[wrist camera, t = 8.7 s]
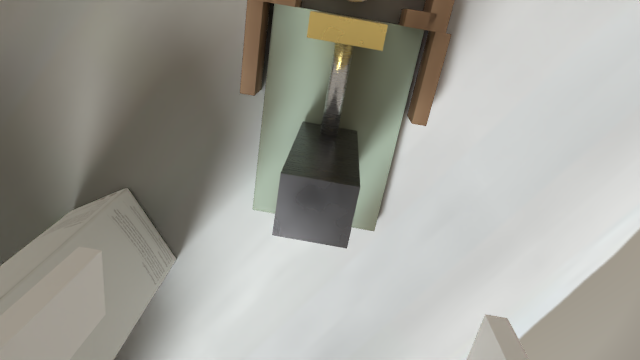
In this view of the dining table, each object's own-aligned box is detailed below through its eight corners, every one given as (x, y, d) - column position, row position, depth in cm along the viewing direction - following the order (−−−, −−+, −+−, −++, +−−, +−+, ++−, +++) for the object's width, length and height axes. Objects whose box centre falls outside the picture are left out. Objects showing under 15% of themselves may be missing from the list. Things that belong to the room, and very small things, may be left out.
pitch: (238, 200, 33) (227, 216, 31) (264, -100, 25) (253, -113, 22) (390, 227, 33) (394, 246, 31) (468, -63, 25) (483, -72, 22)
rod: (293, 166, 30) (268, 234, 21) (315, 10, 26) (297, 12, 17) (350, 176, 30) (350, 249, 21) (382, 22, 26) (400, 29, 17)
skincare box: (71, 208, 35) (-122, 346, 21) (133, 183, 34) (-28, 311, 19) (124, 282, 38) (-13, 448, 24) (183, 261, 36) (75, 425, 22)
